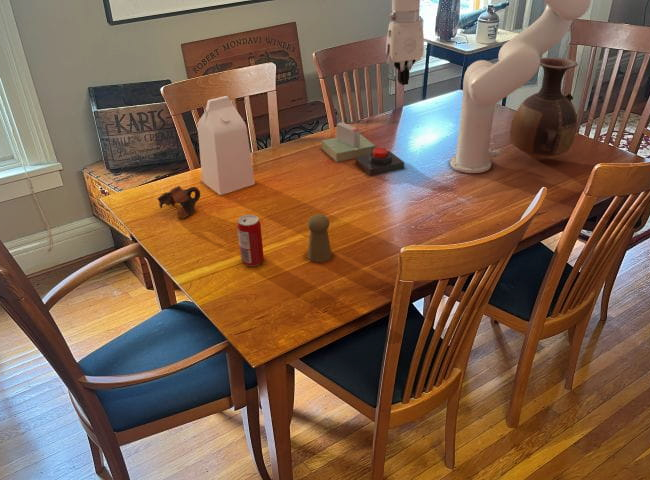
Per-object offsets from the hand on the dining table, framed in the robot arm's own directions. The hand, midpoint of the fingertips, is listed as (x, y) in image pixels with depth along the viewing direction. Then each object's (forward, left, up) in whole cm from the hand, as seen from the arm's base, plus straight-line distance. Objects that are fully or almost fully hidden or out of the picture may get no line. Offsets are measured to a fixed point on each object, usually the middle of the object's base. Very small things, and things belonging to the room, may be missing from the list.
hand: (403, 83), depth 181 cm
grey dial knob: (+10, -17, -23) cm, 30 cm away
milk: (+53, -12, -26) cm, 60 cm away
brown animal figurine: (+70, -1, -26) cm, 74 cm away
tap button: (+6, -2, -22) cm, 23 cm away
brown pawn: (+44, +38, -26) cm, 64 cm away
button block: (+6, -2, -26) cm, 27 cm away
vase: (-42, +15, -26) cm, 52 cm away
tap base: (+10, -17, -26) cm, 32 cm away
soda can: (+60, +33, -26) cm, 73 cm away
